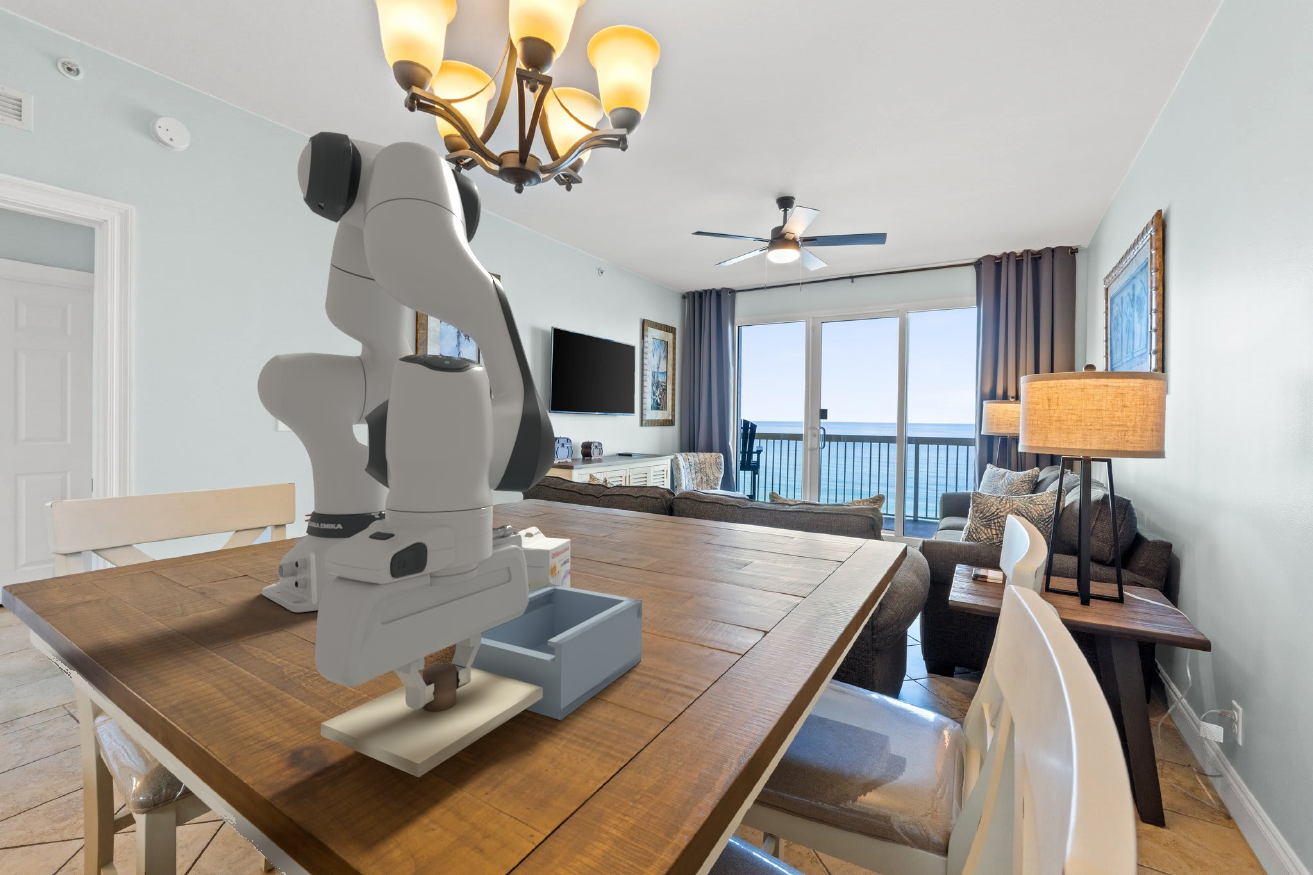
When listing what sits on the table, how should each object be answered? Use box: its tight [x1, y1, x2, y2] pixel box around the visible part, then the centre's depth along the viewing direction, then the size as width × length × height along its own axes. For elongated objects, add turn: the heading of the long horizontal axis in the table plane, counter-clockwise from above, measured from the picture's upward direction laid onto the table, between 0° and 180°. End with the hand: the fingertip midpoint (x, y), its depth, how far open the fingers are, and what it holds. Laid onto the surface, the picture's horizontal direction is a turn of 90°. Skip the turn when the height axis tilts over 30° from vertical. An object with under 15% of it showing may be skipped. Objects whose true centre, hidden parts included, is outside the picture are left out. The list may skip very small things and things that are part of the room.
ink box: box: [512, 526, 572, 591], centre depth 81 cm, size 9×8×13 cm
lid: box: [320, 663, 543, 778], centre depth 50 cm, size 12×14×4 cm
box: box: [455, 584, 643, 721], centre depth 65 cm, size 14×16×7 cm
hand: (439, 694), depth 50 cm, fingers closed on lid, 3 cm apart
